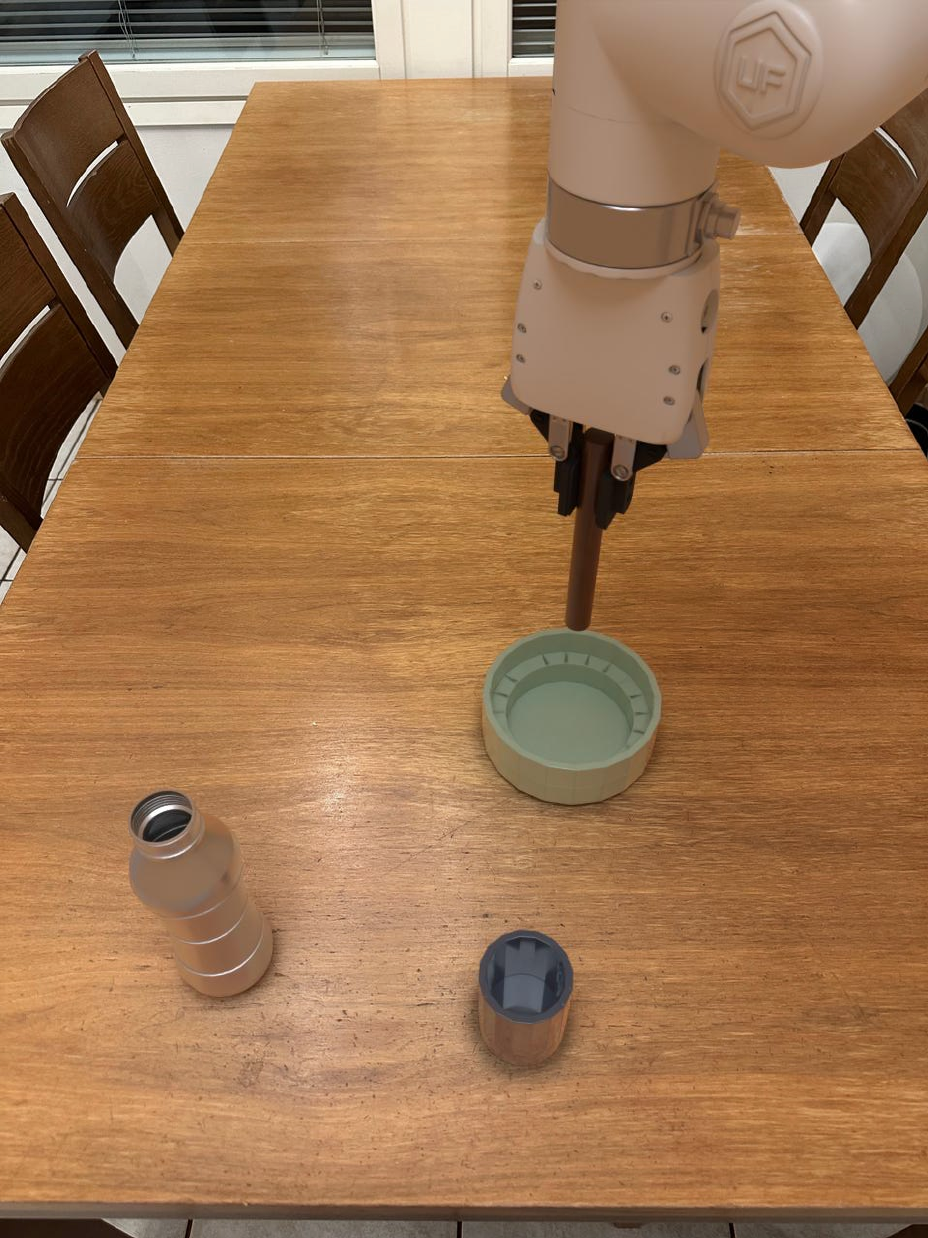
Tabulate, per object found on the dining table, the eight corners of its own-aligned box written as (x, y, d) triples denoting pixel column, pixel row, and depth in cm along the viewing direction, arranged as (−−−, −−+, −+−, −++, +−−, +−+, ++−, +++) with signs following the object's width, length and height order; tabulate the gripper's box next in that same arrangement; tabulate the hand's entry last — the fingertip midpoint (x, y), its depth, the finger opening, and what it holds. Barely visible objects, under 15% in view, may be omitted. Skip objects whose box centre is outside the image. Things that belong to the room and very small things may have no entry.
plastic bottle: (189, 921, 69) (109, 770, 54) (282, 914, 69) (228, 763, 55) (177, 1010, 65) (87, 873, 50) (276, 1003, 65) (216, 865, 50)
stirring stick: (594, 618, 66) (620, 430, 54) (584, 635, 65) (608, 448, 53) (570, 609, 66) (591, 421, 54) (560, 626, 65) (578, 439, 53)
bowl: (676, 705, 82) (686, 665, 78) (613, 836, 73) (620, 798, 69) (528, 647, 86) (530, 606, 82) (453, 763, 78) (451, 724, 74)
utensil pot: (578, 1003, 65) (588, 956, 59) (542, 1083, 61) (548, 1041, 56) (503, 963, 67) (505, 914, 61) (464, 1039, 63) (462, 994, 57)
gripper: (815, 213, 44) (735, 512, 57) (509, 150, 49) (502, 438, 63) (770, 287, 39) (694, 591, 53) (439, 209, 44) (448, 505, 58)
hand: (591, 507), depth 58 cm, fingers closed on stirring stick, 1 cm apart
